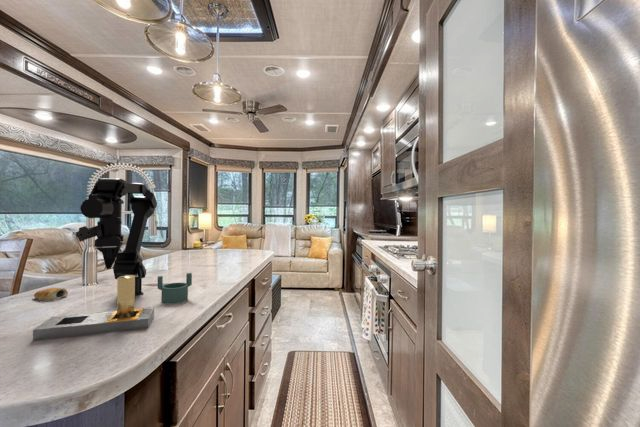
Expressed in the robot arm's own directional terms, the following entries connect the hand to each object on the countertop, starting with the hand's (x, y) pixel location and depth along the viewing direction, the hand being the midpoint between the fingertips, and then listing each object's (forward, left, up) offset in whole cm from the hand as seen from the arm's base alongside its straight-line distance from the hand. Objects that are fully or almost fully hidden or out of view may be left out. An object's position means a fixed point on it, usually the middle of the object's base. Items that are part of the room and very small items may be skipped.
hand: (109, 266), depth 94 cm
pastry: (+9, -26, -14) cm, 31 cm away
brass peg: (+3, +20, -13) cm, 24 cm away
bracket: (-17, +8, -13) cm, 23 cm away
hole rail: (+8, +17, -13) cm, 22 cm away
